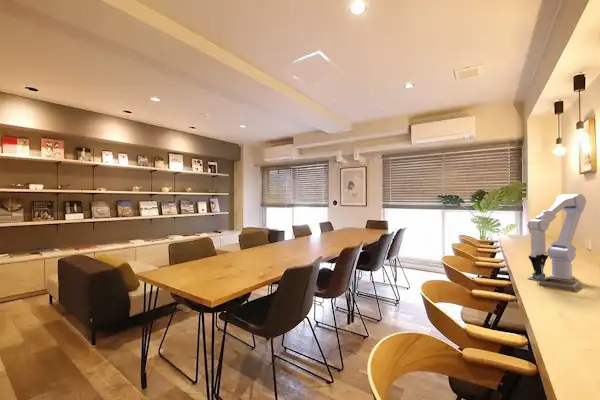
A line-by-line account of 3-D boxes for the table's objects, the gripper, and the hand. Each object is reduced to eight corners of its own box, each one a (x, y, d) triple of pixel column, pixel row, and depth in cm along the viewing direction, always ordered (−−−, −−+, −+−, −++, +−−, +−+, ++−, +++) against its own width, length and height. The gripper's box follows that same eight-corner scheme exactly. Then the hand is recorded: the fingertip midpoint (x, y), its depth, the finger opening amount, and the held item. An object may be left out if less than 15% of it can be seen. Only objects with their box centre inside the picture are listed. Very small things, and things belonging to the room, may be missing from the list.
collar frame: (547, 281, 140) (547, 277, 140) (580, 287, 130) (580, 282, 130) (539, 285, 134) (539, 280, 134) (573, 291, 124) (573, 286, 124)
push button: (550, 279, 141) (550, 259, 142) (547, 281, 138) (547, 260, 139) (533, 277, 147) (533, 257, 147) (530, 278, 144) (530, 258, 144)
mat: (533, 276, 148) (533, 276, 148) (550, 279, 143) (550, 278, 143) (527, 279, 144) (527, 278, 144) (545, 282, 138) (545, 281, 138)
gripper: (543, 245, 136) (543, 273, 136) (553, 242, 144) (553, 269, 144) (525, 243, 142) (525, 270, 142) (535, 241, 150) (536, 266, 150)
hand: (538, 269), depth 143 cm, fingers closed on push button, 5 cm apart
